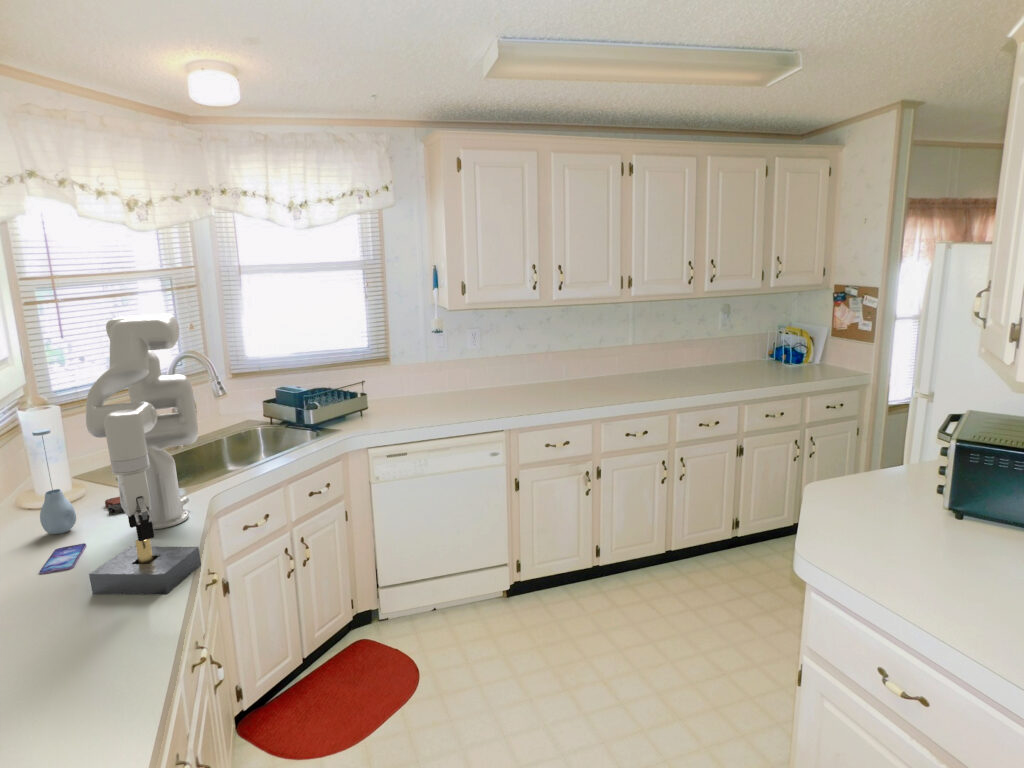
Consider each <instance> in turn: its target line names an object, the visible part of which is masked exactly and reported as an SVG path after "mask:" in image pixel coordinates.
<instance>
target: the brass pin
mask: <svg viewBox="0 0 1024 768" xmlns="http://www.w3.org/2000/svg"><path fill="white" fill-rule="evenodd" d="M134 543H135V546H136V549H137V555H138V561H139V564H150V563H151V562H153V555H152V548H151V546H152V543H151V539H147V540H144V541H139V540H138V539H136V540H135V542H134Z"/></svg>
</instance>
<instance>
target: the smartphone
mask: <svg viewBox="0 0 1024 768" xmlns="http://www.w3.org/2000/svg"><path fill="white" fill-rule="evenodd" d="M86 548H87V543H85V542H84V543H83V542H82V543H77V544H74V545H72V544H71V545H68V546H63V547H59V548H55V549H54V550H53V551H52V553H51V555H49V557H48V558H47V560H46V561H45V563H44V564H43V565H42V567H41V568H40V570H39V571H38V573H39V574H40V575H46V574H51V573H57V572H62V571H69V570H72V569H73V568H74V567H76V565H77V563H78V562H79V559H80V558H81V556H82V554H83V553H84V551H85V549H86Z"/></svg>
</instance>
